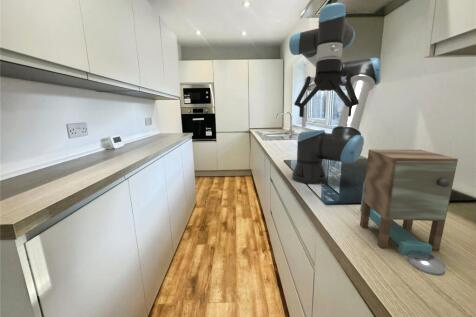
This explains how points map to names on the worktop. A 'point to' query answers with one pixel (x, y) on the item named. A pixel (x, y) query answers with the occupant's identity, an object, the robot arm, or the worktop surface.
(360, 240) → the worktop surface
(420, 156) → the cabinet
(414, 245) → the teal stepped block
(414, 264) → the silver flat disc
